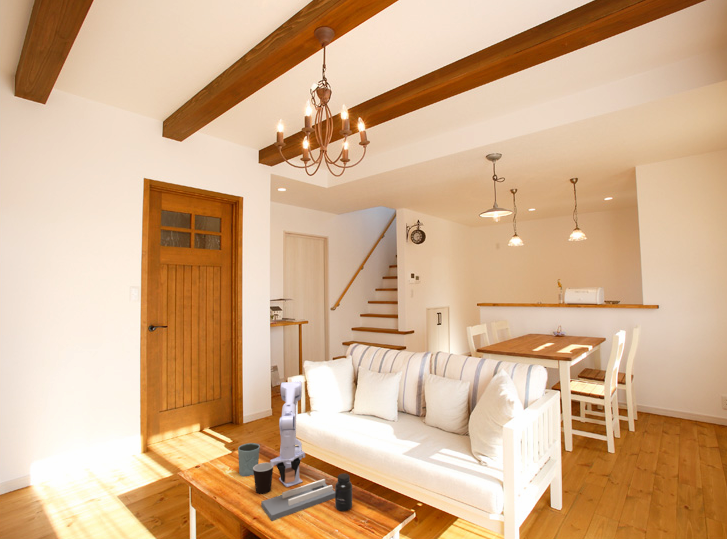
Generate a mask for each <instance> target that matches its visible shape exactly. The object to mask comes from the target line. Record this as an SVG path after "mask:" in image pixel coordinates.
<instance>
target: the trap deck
mask: <svg viewBox="0 0 727 539" xmlns="http://www.w3.org/2000/svg"><path fill="white" fill-rule="evenodd" d="M326 486H329V485H328V484H327V483H326V482H325V485H322V486H319V487H316V488H313V489H310V490H307V491H304V492H301V493H298V494H295V495H292V496H289V497H286V498H282V494H280V495H276V496H274V497H270V498H268V499H264V500H261V501H260V502H261V503H260V504H261V505H260V506H261V508H262V509H263V512H264V513H265V514H266V515H267V516H268V518H269V519H270V521H271V522H273V521H275V520H278V519H281V518H283V517H286V516H289V515H293V514H295V513H297V512H300V511H302V510H305V509H308V508H311V507H314V506H317V505H320V504H323V503H325V502H327V501H330V500H333V499H335V490H334V489H333V491H330V492H327V493H324V494H322V495H319V496H316V497H313V498H310V499H307V500H304V501H302V502H299V503H296V504H293V505H290V506H289V505H288V499H291V498H294V497H297V496H300V495H303V494H306V493H309V492H312V491H315V490H317V489H320V488H323V487H326Z"/></svg>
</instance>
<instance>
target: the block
mask: <svg viewBox="0 0 727 539" xmlns="http://www.w3.org/2000/svg"><path fill="white" fill-rule="evenodd" d="M293 481H295V471H294V470H293V469H292V468H291V467H290V468H286V469H285V482H284V483H285V484H286V483H289V482H293Z"/></svg>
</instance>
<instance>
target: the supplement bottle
mask: <svg viewBox="0 0 727 539" xmlns="http://www.w3.org/2000/svg"><path fill="white" fill-rule="evenodd" d="M334 489H335V490H334V491H335V498H334V499H335V500H334V502H335V503H334V504H335V506H334V507H335V509H336V510H338V511H340V512H348V511H350V510H351V509H352V507H353V484H352V482H351V479H350V475H349V474H348V473H340V474H338V475H337V482H336V483H335V486H334Z"/></svg>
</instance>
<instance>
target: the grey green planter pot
mask: <svg viewBox="0 0 727 539" xmlns="http://www.w3.org/2000/svg"><path fill="white" fill-rule="evenodd" d="M260 449H261V446H260V444H259V443H257V442H256V443H254V442H248V443H244V444H241V445H239V446H238V448H237V452H238V454H237V455H238V472H239V475H240V476H241V477H251V476H250V475H252V476H254V472H253V467H254V466H255V465H257V464H259V461H260V460H259V458H260V451H261V450H260Z"/></svg>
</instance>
